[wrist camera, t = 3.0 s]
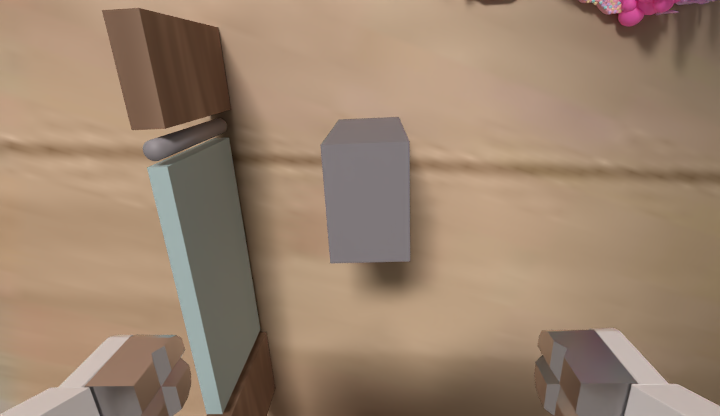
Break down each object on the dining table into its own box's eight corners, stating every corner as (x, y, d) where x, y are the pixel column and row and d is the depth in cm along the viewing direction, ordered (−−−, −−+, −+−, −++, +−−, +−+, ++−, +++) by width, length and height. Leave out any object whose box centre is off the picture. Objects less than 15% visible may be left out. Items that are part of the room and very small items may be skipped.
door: (225, 118, 26) (161, 139, 18) (260, 329, 32) (222, 414, 24) (211, 118, 26) (140, 140, 18) (248, 329, 32) (206, 414, 24)
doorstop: (398, 116, 26) (409, 141, 17) (400, 202, 28) (410, 261, 19) (338, 119, 26) (320, 144, 18) (344, 203, 28) (330, 263, 20)
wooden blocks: (218, 27, 24) (138, 8, 16) (275, 388, 34) (243, 488, 26) (193, 29, 24) (102, 10, 16) (257, 388, 34) (220, 488, 26)
